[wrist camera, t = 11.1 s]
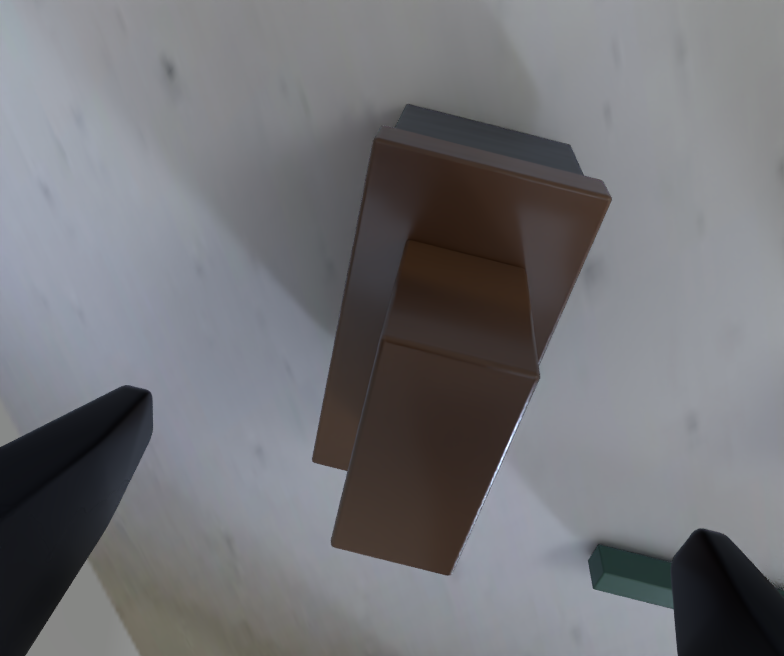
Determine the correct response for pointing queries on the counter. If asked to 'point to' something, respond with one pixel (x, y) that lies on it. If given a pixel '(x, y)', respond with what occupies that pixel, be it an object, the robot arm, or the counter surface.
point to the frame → (632, 576)
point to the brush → (446, 325)
